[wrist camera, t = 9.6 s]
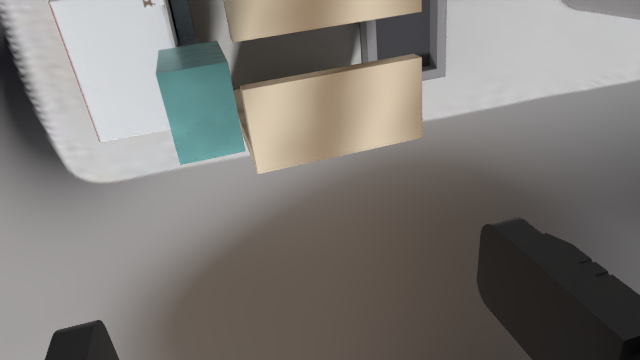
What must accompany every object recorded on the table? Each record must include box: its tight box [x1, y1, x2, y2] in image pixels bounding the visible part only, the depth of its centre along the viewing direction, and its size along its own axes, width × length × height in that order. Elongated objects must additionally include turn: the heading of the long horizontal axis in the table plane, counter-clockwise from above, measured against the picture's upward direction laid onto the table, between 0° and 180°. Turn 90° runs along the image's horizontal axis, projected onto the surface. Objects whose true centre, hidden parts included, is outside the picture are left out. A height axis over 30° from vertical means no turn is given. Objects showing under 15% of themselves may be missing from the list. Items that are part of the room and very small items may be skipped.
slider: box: [156, 0, 245, 165], centre depth 26 cm, size 2×9×20 cm, turn 6°
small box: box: [48, 0, 178, 143], centre depth 30 cm, size 8×6×10 cm
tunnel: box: [223, 0, 422, 174], centre depth 30 cm, size 10×12×14 cm
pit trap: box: [359, 0, 447, 81], centre depth 38 cm, size 7×10×2 cm
